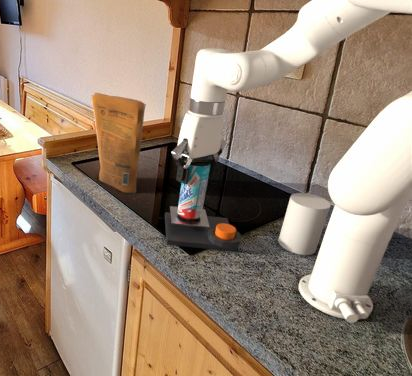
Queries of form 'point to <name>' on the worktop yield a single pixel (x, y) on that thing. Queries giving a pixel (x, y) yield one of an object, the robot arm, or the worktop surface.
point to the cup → (303, 223)
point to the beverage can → (194, 189)
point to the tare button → (225, 231)
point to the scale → (200, 235)
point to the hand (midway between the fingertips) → (195, 178)
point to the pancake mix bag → (118, 139)
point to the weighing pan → (180, 221)
